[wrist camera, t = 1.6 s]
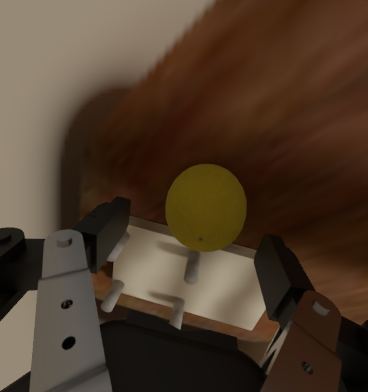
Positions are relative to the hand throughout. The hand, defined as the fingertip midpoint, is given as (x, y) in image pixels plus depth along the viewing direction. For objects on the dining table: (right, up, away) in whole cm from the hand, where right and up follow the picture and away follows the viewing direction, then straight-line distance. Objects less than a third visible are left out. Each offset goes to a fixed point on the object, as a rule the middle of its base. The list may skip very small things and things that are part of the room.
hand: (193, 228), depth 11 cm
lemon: (+2, +3, +6) cm, 7 cm away
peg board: (0, -6, +10) cm, 12 cm away
